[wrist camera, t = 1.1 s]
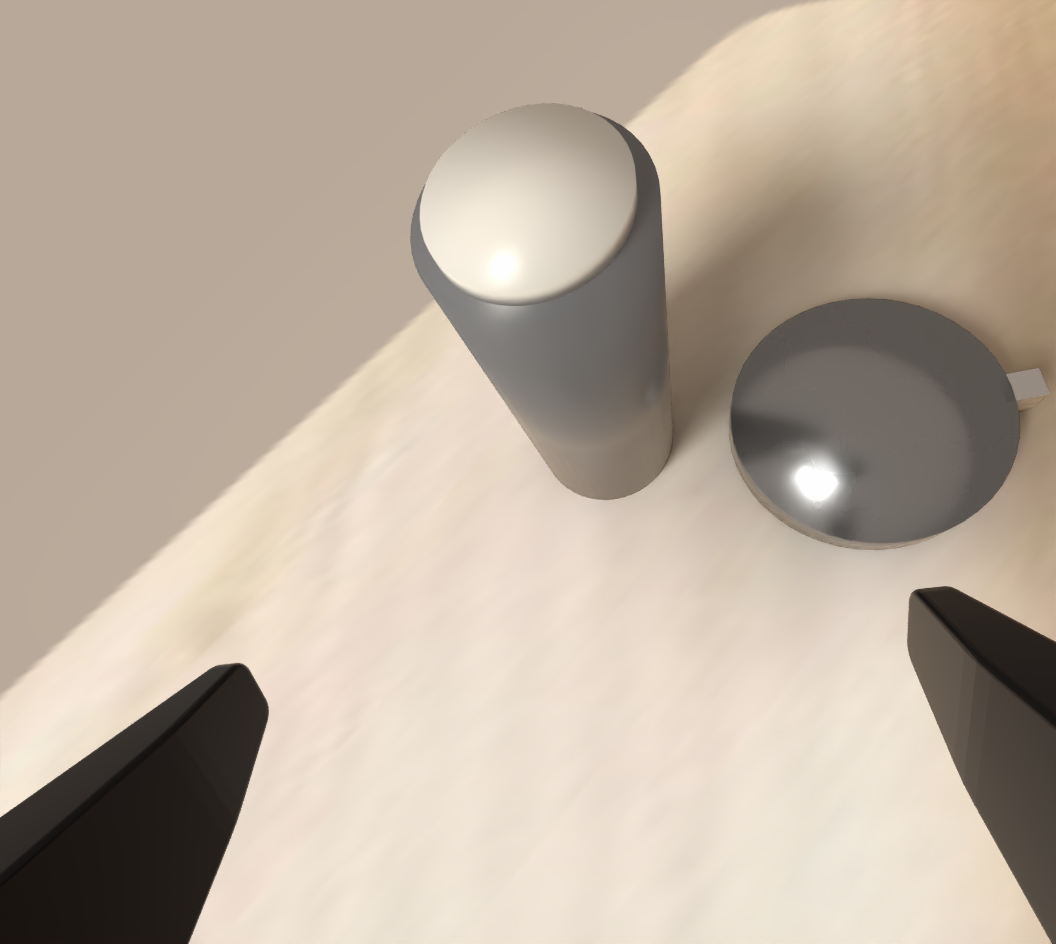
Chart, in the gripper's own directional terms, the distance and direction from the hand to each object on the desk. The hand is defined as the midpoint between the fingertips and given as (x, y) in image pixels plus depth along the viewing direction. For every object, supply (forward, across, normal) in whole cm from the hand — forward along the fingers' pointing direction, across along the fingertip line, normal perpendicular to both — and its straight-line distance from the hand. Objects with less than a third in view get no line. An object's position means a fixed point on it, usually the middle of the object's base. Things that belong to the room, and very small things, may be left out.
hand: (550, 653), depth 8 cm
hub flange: (+14, -9, +5) cm, 17 cm away
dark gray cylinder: (+15, 0, +4) cm, 16 cm away
